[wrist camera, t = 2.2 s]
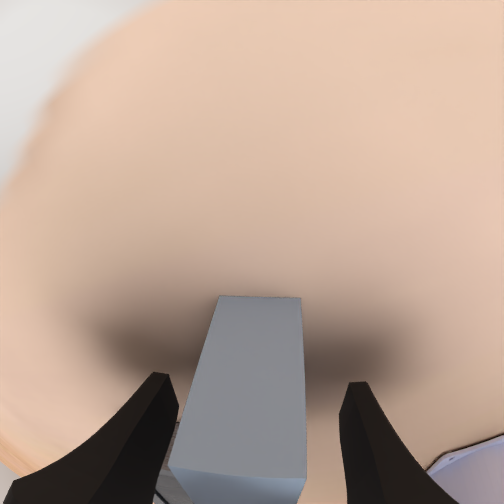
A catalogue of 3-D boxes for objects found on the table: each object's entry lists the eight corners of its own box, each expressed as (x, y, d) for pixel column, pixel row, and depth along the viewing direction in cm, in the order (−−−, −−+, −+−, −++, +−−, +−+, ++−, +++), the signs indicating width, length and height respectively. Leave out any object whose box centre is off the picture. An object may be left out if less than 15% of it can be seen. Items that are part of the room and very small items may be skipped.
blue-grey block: (300, 297, 10) (306, 478, 4) (288, 417, 13) (283, 533, 7) (219, 294, 10) (167, 465, 5) (233, 414, 13) (213, 528, 8)
